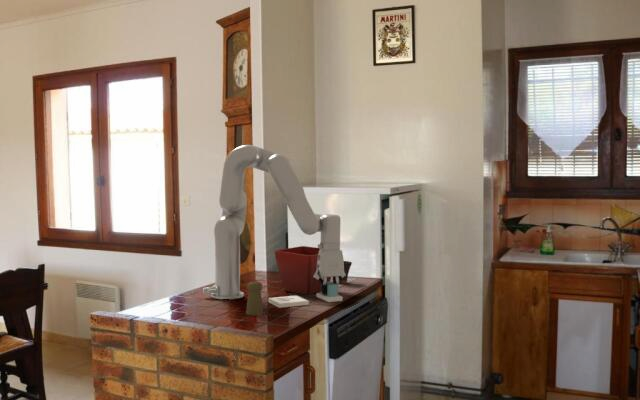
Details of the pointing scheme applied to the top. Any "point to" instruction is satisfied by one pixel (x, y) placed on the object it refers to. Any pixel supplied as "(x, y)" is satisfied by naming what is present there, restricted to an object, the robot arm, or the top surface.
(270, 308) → the top surface
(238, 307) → the top surface
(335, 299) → the stub
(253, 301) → the olive green pepper shaker
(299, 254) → the plant pot
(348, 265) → the cup
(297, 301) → the white flat slab
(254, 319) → the top surface
